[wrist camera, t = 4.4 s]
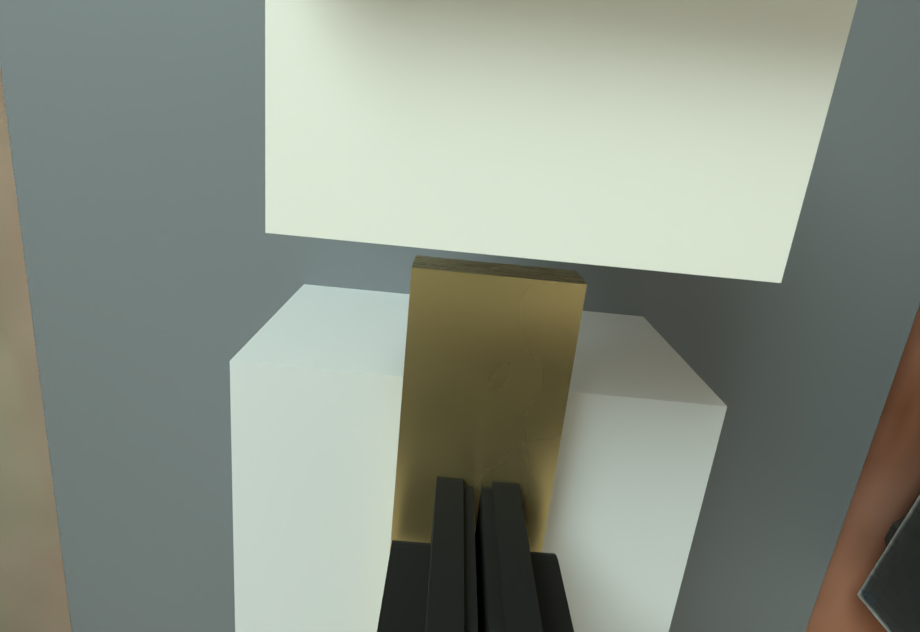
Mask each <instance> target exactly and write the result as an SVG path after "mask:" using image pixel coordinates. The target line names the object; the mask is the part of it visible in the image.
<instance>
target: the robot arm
mask: <svg viewBox="0 0 920 632" xmlns="http://www.w3.org/2000/svg"><path fill="white" fill-rule="evenodd" d="M377 632H574V629H573V624H572V620H571V615H570V611H569V606H568V602H567V597H566V593H565V588H564V584H563V579H562V575H561V571H560V566H559V562H558V558H557V556H556V554H555V553H543V552H531V551H530V548H529V541H528V535H527V529H526V523H525V517H524V511H523V504H522V498H521V492H520V486H519V483H509V482H497V481H492V488H486V487H481V492H480V500H479V508H478V515H477V523H476V531H475V523H474V494H473V486H463V479H462V478H450V477H439V476H437V481H436V491H435V501H434V511H433V521H432V531H431V541H430V543H422V542H410V541H398V540H392V544H391V549H390V555H389V561H388V567H387V573H386V579H385V585H384V591H383V598H382V604H381V610H380V616H379V622H378V628H377Z"/></svg>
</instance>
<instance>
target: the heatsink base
mask: <svg viewBox="0 0 920 632" xmlns="http://www.w3.org/2000/svg"><path fill="white" fill-rule="evenodd" d="M0 68H1V76H2V84H3V92H4V99H5V107H6V115H7V123H8V131H9V139H10V147H11V155H12V163H13V171H14V179H15V187H16V194H17V202H18V210H19V218H20V226H21V234H22V242H23V250H24V258H25V266H26V274H27V281H28V289H29V297H30V305H31V313H32V321H33V329H34V337H35V345H36V353H37V361H38V368H39V376H40V384H41V392H42V400H43V408H44V416H45V424H46V432H47V440H48V448H49V455H50V463H51V471H52V479H53V487H54V495H55V503H56V511H57V519H58V527H59V535H60V542H61V550H62V558H63V566H64V574H65V582H66V590H67V598H68V606H69V614H70V622H71V629H72V632H377V628H378V622H379V616H380V610H381V604H382V598H383V591H384V585H385V579H386V573H387V567H388V561H389V555H390V545H391V532H392V519H393V505H394V492H395V479H396V466H397V453H398V440H399V426H400V413H401V400H402V387H403V374H404V360H405V347H406V334H407V321H408V308H409V295H410V281H411V268H412V265H413V262H414V259H415V256H416V255H419V256H429V257H440V258H450V259H460V260H471V261H481V262H491V263H501V264H512V265H522V266H532V267H543V268H553V269H563V270H573V271H577V272H578V274H579V275H580V276H581V278H582V279H583V280H584V281H585V283H586V284H587V287H586V293H585V299H584V305H583V311H582V317H581V322H580V328H579V334H578V340H577V346H576V352H575V358H574V364H573V370H572V376H571V382H570V388H569V393H568V399H567V405H566V411H565V417H564V423H563V429H562V435H561V441H560V447H559V453H558V459H557V465H556V470H555V476H554V482H553V488H552V494H551V500H550V506H549V512H548V518H547V524H546V530H545V536H544V541H543V547H542V552H543V553H555V554H556V556H557V558H558V562H559V566H560V571H561V575H562V579H563V584H564V588H565V593H566V597H567V602H568V606H569V611H570V615H571V620H572V624H573V629H574V632H806V629H807V626H808V623H809V620H810V617H811V614H812V611H813V609H814V606H815V603H816V600H817V597H818V594H819V591H820V589H821V586H822V583H823V580H824V577H825V574H826V571H827V568H828V566H829V563H830V560H831V557H832V554H833V551H834V548H835V546H836V543H837V540H838V537H839V534H840V531H841V528H842V525H843V523H844V520H845V517H846V514H847V511H848V508H849V505H850V503H851V500H852V497H853V494H854V491H855V488H856V485H857V482H858V480H859V477H860V474H861V471H862V468H863V465H864V462H865V460H866V457H867V454H868V451H869V448H870V445H871V442H872V439H873V437H874V434H875V431H876V428H877V425H878V422H879V419H880V417H881V414H882V411H883V408H884V405H885V402H886V399H887V396H888V394H889V391H890V388H891V385H892V382H893V379H894V376H895V374H896V371H897V368H898V365H899V362H900V359H901V356H902V353H903V351H904V348H905V345H906V342H907V339H908V336H909V333H910V331H911V328H912V325H913V322H914V319H915V316H916V313H917V310H918V308H919V305H920V0H858V1H857V5H856V9H855V13H854V16H853V20H852V24H851V27H850V31H849V35H848V38H847V42H846V46H845V49H844V53H843V57H842V60H841V64H840V68H839V71H838V75H837V79H836V82H835V86H834V90H833V94H832V97H831V101H830V105H829V108H828V112H827V116H826V119H825V123H824V127H823V130H822V134H821V138H820V141H819V145H818V149H817V152H816V156H815V160H814V163H813V167H812V171H811V174H810V178H809V182H808V186H807V189H806V193H805V197H804V200H803V204H802V208H801V211H800V215H799V219H798V222H797V226H796V230H795V233H794V237H793V241H792V244H791V248H790V252H789V255H788V259H787V263H786V267H785V270H784V274H783V278H782V281H781V283H774V282H764V281H754V280H744V279H733V278H723V277H713V276H703V275H692V274H682V273H672V272H662V271H651V270H641V269H631V268H621V267H610V266H600V265H590V264H580V263H569V262H559V261H549V260H539V259H528V258H518V257H508V256H498V255H487V254H477V253H467V252H457V251H446V250H436V249H426V248H416V247H405V246H395V245H385V244H375V243H364V242H354V241H344V240H334V239H323V238H313V237H303V236H293V235H283V234H272V233H265V0H0Z"/></svg>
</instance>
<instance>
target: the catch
mask: <svg viewBox="0 0 920 632" xmlns="http://www.w3.org/2000/svg"><path fill="white" fill-rule="evenodd" d="M857 1H858V0H265V233H272V234H283V235H293V236H303V237H313V238H323V239H334V240H344V241H354V242H364V243H375V244H385V245H395V246H405V247H416V248H426V249H436V250H446V251H457V252H467V253H477V254H487V255H498V256H508V257H518V258H528V259H539V260H549V261H559V262H569V263H580V264H590V265H600V266H610V267H621V268H631V269H641V270H651V271H662V272H672V273H682V274H692V275H703V276H713V277H723V278H733V279H744V280H754V281H764V282H774V283H781V281H782V278H783V274H784V270H785V267H786V263H787V259H788V255H789V252H790V248H791V244H792V241H793V237H794V233H795V230H796V226H797V222H798V219H799V215H800V211H801V208H802V204H803V200H804V197H805V193H806V189H807V186H808V182H809V178H810V174H811V171H812V167H813V163H814V160H815V156H816V152H817V149H818V145H819V141H820V138H821V134H822V130H823V127H824V123H825V119H826V116H827V112H828V108H829V105H830V101H831V97H832V94H833V90H834V86H835V82H836V79H837V75H838V71H839V68H840V64H841V60H842V57H843V53H844V49H845V46H846V42H847V38H848V35H849V31H850V27H851V24H852V20H853V16H854V13H855V9H856V5H857Z"/></svg>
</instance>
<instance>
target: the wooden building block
mask: <svg viewBox="0 0 920 632" xmlns="http://www.w3.org/2000/svg"><path fill="white" fill-rule="evenodd" d="M586 287H587V284H586V283H585V281H584V280H583V279H582V278H581V276H580V275H579V274H578V272H577V271H573V270H563V269H553V268H543V267H532V266H522V265H512V264H501V263H491V262H481V261H471V260H460V259H450V258H440V257H429V256H419V255H416V256H415V259H414V262H413V265H412V268H411V281H410V295H409V308H408V321H407V334H406V347H405V360H404V374H403V387H402V400H401V413H400V426H399V440H398V453H397V466H396V479H395V492H394V505H393V519H392V532H391V544H392V540H398V541H410V542H422V543H430V541H431V531H432V521H433V511H434V501H435V491H436V481H437V476H439V477H450V478H462V479H463V486H473V494H474V523H475V531H476V523H477V515H478V508H479V500H480V492H481V487H486V488H492V481H497V482H509V483H519V486H520V492H521V498H522V504H523V511H524V517H525V523H526V529H527V535H528V541H529V548H530V551H531V552H542V547H543V541H544V536H545V530H546V524H547V518H548V512H549V506H550V500H551V494H552V488H553V482H554V476H555V470H556V465H557V459H558V453H559V447H560V441H561V435H562V429H563V423H564V417H565V411H566V405H567V399H568V393H569V388H570V382H571V376H572V370H573V364H574V358H575V352H576V346H577V340H578V334H579V328H580V322H581V317H582V311H583V305H584V299H585V293H586ZM390 549H391V545H390Z"/></svg>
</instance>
